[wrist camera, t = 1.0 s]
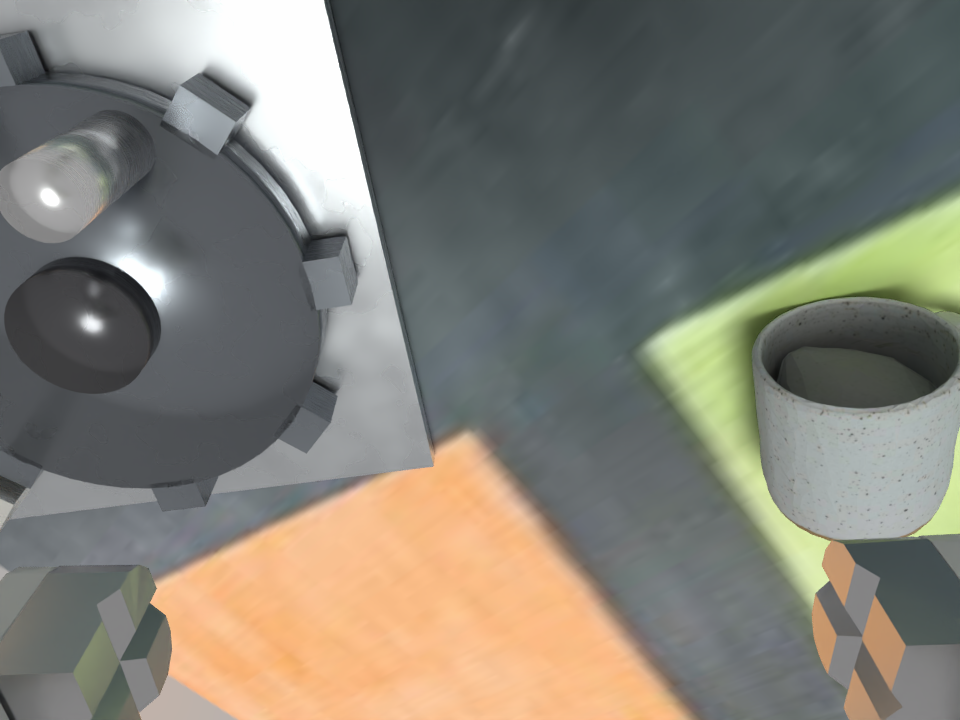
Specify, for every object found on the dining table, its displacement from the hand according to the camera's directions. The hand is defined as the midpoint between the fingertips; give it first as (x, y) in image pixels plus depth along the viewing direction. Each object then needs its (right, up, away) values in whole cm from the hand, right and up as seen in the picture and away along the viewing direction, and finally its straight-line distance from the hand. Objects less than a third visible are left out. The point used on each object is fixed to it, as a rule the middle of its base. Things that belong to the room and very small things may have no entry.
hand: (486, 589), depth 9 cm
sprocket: (-15, +5, +22) cm, 27 cm away
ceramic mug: (+17, +3, +25) cm, 30 cm away
